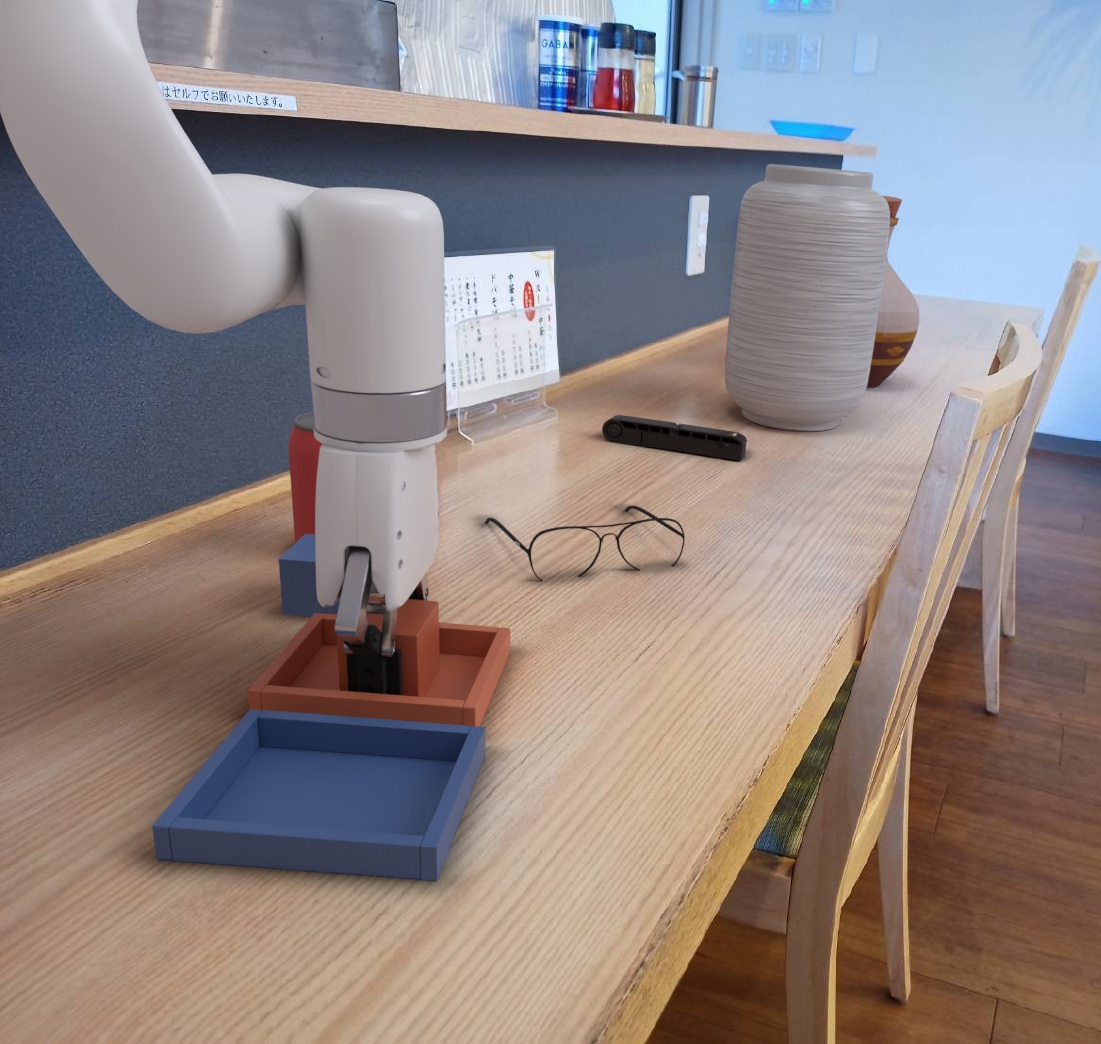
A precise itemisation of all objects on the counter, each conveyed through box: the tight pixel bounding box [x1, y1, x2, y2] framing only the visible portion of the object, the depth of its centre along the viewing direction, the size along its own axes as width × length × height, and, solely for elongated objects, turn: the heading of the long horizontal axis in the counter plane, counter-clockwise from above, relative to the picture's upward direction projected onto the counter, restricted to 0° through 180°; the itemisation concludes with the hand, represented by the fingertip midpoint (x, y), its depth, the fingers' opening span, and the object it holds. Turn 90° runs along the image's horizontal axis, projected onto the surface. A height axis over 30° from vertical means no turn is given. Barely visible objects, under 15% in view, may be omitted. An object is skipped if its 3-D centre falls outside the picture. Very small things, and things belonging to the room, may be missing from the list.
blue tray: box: [151, 709, 486, 882], centre depth 53 cm, size 14×11×3 cm
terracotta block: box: [336, 595, 440, 697], centre depth 64 cm, size 5×5×5 cm
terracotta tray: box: [247, 613, 511, 727], centre depth 64 cm, size 14×11×3 cm
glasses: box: [484, 505, 685, 582], centre depth 90 cm, size 14×15×5 cm
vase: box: [724, 163, 890, 432], centre depth 135 cm, size 20×20×34 cm
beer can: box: [287, 411, 322, 544], centre depth 82 cm, size 7×7×12 cm
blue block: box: [278, 534, 372, 618], centre depth 74 cm, size 5×5×5 cm
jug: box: [867, 195, 921, 389], centre depth 163 cm, size 20×18×30 cm
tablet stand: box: [601, 414, 748, 461], centre depth 121 cm, size 18×3×3 cm, turn 74°
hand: (391, 678), depth 64 cm, fingers open, 5 cm apart
